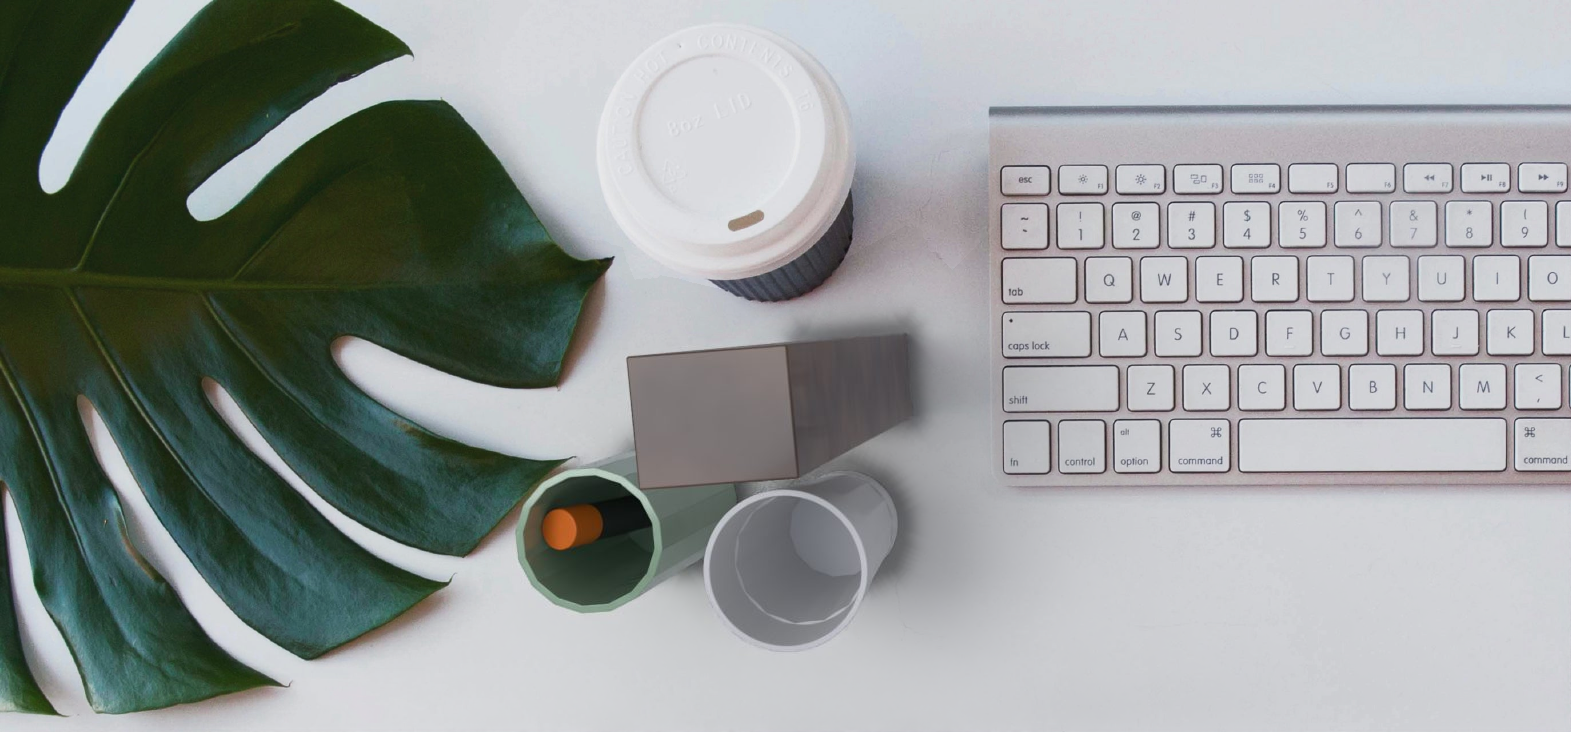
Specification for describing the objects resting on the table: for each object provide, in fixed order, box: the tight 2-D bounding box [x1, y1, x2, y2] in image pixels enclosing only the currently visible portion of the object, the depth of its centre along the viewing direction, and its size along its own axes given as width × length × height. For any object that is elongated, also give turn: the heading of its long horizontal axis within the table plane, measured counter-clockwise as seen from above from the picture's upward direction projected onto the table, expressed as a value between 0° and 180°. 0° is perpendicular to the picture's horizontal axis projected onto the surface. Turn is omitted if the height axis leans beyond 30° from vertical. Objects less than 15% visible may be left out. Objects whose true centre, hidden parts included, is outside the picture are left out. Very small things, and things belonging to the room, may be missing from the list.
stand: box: [625, 332, 914, 490], centre depth 52 cm, size 5×6×24 cm
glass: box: [515, 449, 738, 614], centre depth 59 cm, size 7×7×11 cm
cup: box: [703, 470, 899, 653], centre depth 58 cm, size 8×8×12 cm
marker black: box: [542, 495, 653, 550], centre depth 59 cm, size 2×2×9 cm
